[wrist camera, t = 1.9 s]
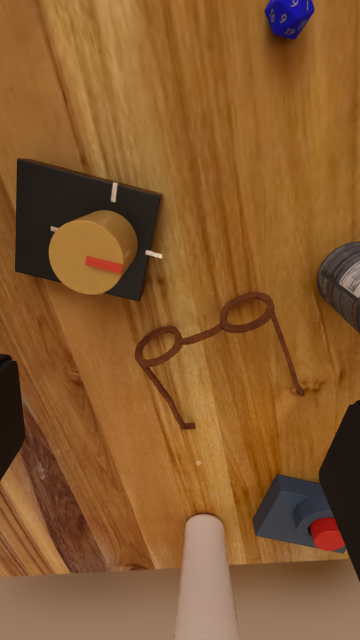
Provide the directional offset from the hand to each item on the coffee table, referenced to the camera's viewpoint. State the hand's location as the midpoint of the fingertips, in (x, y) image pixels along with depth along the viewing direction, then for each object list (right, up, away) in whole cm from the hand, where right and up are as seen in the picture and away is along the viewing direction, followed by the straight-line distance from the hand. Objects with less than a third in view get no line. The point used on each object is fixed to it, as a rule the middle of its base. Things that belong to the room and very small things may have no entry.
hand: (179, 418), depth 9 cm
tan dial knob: (-6, +9, +17) cm, 20 cm away
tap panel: (-8, +10, +19) cm, 23 cm away
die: (+7, +23, +12) cm, 27 cm away
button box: (+17, -22, +32) cm, 42 cm away
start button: (+17, -21, +28) cm, 39 cm away
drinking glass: (+3, -25, +35) cm, 43 cm away
